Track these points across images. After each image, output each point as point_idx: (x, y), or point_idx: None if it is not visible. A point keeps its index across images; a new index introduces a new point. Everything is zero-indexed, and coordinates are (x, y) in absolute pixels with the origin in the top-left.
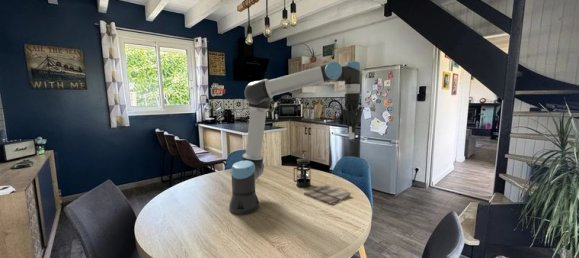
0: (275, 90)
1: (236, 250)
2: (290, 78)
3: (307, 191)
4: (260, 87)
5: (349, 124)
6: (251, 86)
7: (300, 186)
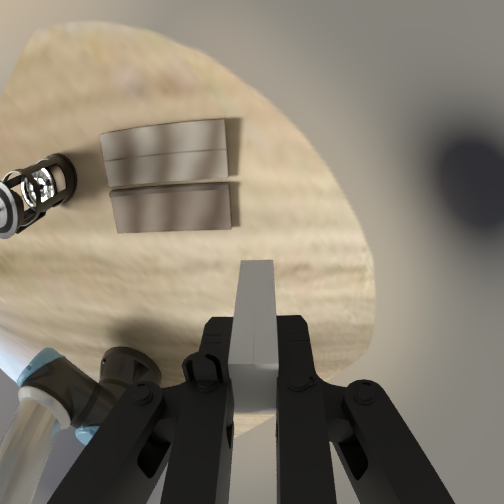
0: None
1: (257, 422)
2: None
3: (115, 219)
4: None
5: (232, 431)
6: None
7: (66, 200)
